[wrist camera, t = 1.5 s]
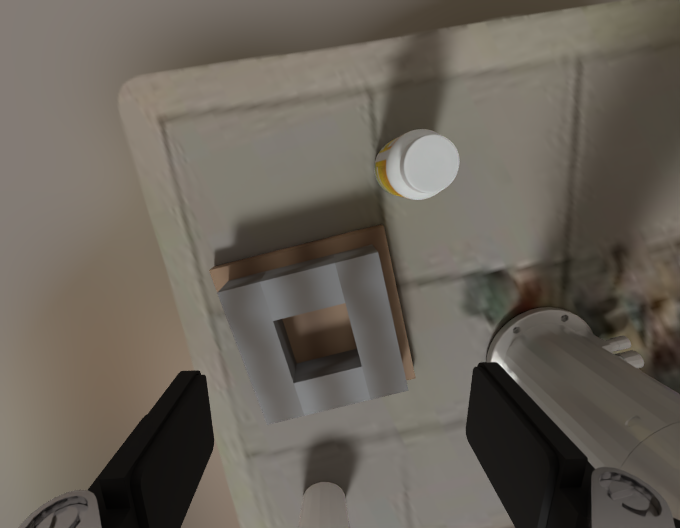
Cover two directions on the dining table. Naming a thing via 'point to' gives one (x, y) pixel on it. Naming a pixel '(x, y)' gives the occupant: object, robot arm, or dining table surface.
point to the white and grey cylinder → (324, 507)
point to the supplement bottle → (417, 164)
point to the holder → (318, 323)
